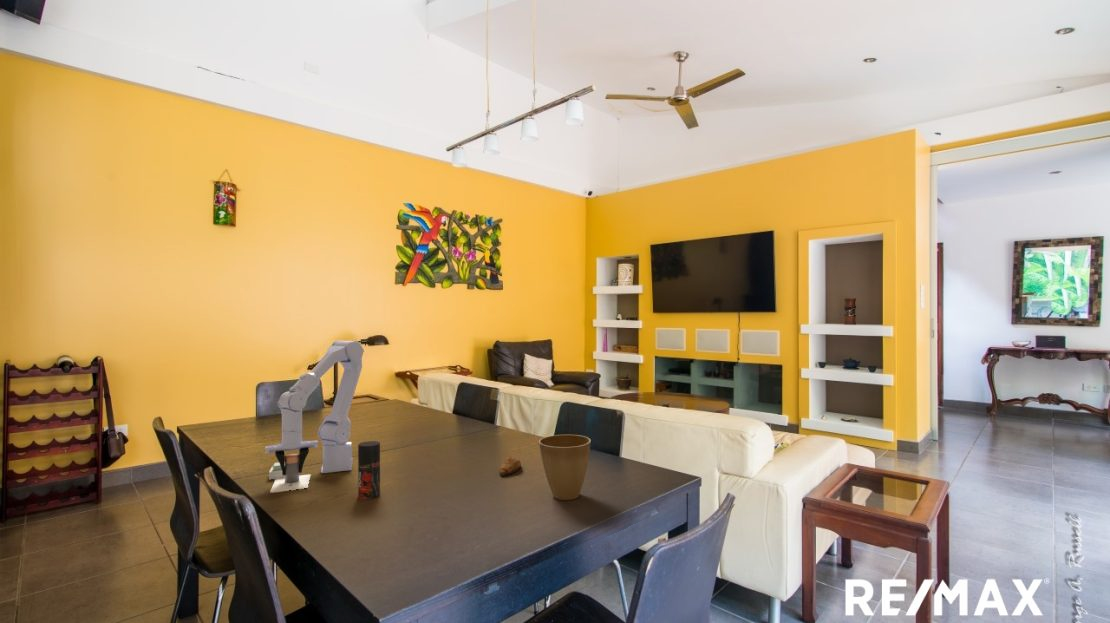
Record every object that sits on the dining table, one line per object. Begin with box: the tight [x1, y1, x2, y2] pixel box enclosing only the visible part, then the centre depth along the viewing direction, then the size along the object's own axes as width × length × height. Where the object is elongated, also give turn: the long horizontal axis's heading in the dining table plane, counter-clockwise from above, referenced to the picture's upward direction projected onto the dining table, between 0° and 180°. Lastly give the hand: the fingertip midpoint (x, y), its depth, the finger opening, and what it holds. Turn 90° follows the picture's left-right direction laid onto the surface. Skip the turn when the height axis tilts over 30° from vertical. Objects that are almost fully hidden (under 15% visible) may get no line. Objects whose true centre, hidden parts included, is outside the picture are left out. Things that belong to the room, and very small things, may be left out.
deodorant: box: [357, 440, 381, 500], centre depth 146 cm, size 6×6×15 cm
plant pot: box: [538, 434, 592, 501], centre depth 144 cm, size 15×15×16 cm
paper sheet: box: [269, 473, 312, 494], centre depth 157 cm, size 10×14×1 cm
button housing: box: [268, 466, 285, 481], centre depth 164 cm, size 6×6×2 cm
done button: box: [272, 462, 282, 471], centre depth 164 cm, size 4×4×2 cm
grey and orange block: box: [285, 453, 300, 483], centre depth 158 cm, size 4×4×8 cm
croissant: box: [499, 456, 522, 477], centre depth 168 cm, size 14×7×5 cm, turn 160°
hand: (292, 473), depth 158 cm, fingers closed on grey and orange block, 4 cm apart
